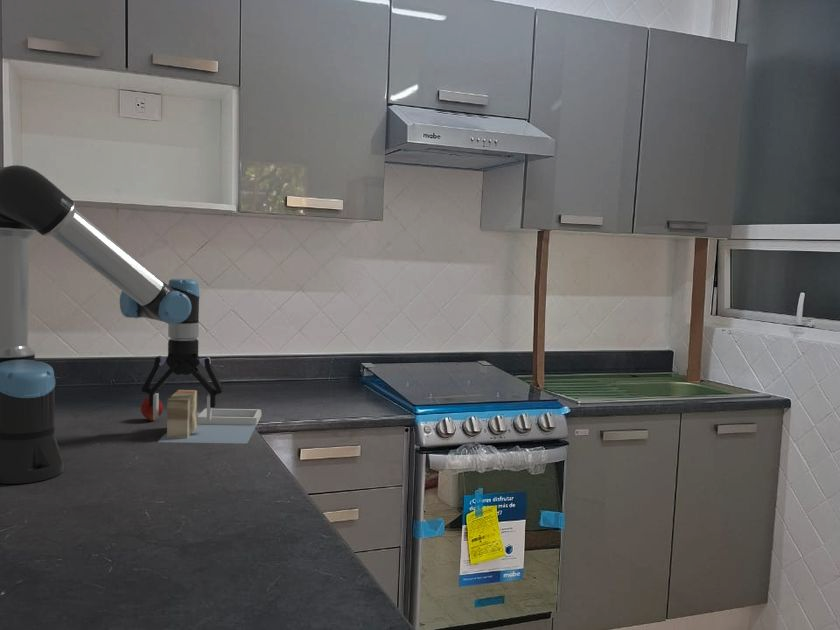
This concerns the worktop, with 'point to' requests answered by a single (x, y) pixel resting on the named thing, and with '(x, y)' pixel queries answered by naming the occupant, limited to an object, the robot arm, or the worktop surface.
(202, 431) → the mat
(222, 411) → the frame
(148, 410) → the onion
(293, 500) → the worktop surface
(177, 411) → the block
